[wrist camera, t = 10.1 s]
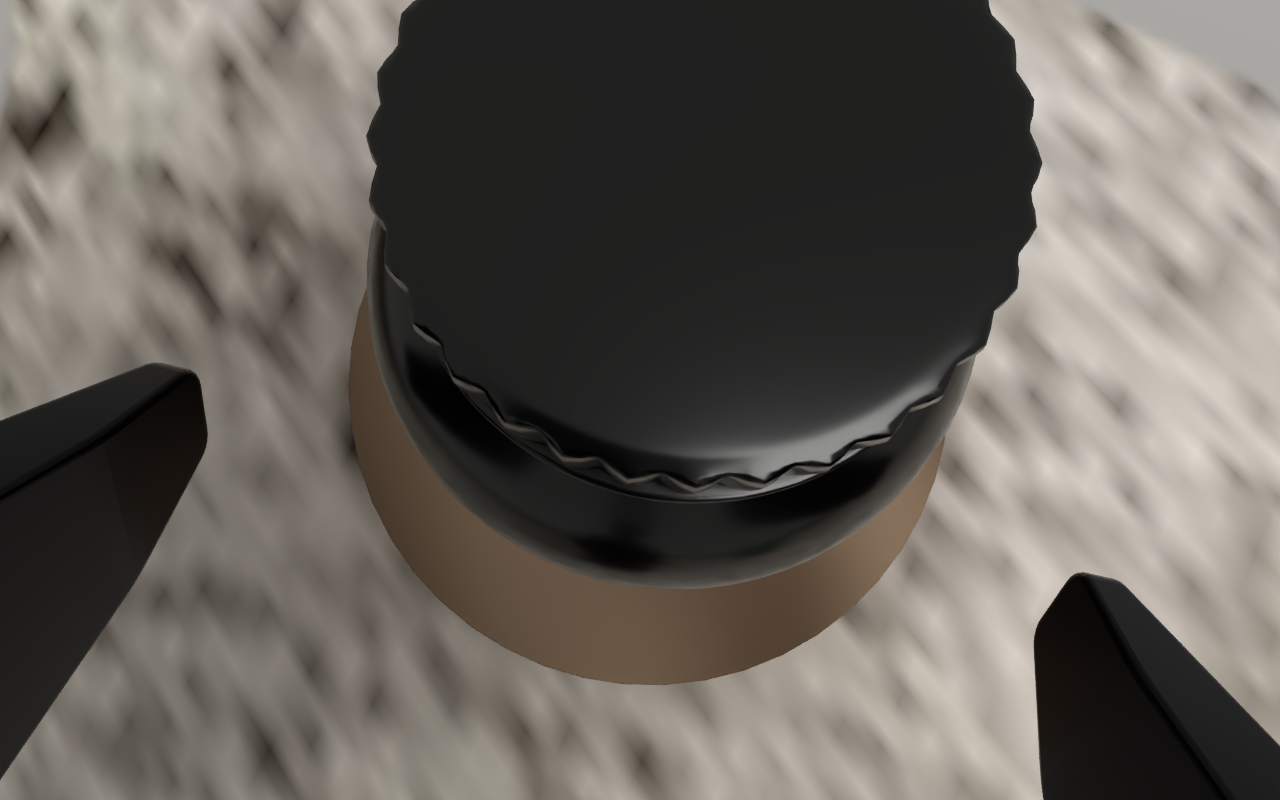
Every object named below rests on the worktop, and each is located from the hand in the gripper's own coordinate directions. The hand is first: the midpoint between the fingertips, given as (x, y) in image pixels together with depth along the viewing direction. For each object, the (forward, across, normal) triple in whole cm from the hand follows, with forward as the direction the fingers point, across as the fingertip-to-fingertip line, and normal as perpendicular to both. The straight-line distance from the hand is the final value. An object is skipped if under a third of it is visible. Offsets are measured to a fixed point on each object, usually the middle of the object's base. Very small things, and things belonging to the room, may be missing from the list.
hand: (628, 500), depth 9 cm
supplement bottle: (+8, 0, +4) cm, 9 cm away
